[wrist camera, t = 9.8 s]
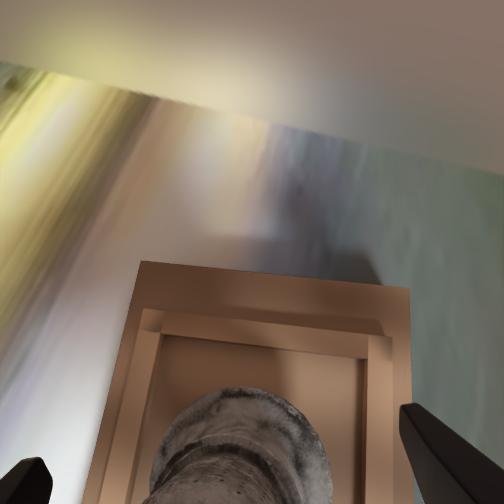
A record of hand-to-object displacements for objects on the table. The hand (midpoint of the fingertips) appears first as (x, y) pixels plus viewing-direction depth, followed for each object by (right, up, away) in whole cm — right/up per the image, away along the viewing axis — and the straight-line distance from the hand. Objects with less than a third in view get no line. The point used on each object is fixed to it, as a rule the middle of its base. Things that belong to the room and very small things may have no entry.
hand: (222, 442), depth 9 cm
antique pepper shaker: (+1, -4, +6) cm, 7 cm away
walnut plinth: (+1, -5, +9) cm, 10 cm away
